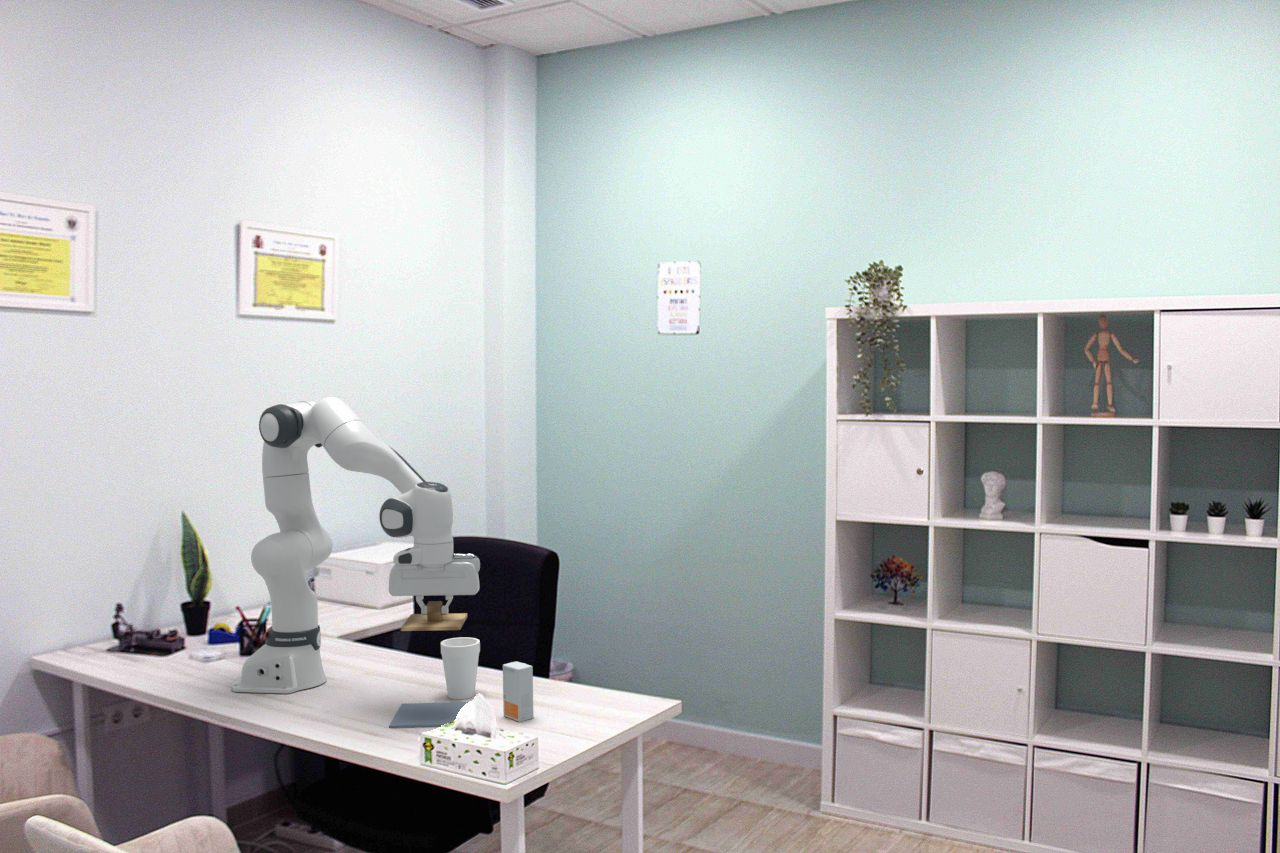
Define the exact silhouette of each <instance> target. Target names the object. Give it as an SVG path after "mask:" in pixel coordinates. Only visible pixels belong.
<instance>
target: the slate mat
mask: <svg viewBox="0 0 1280 853" xmlns="http://www.w3.org/2000/svg"><path fill="white" fill-rule="evenodd" d="M468 702H469V701H454V702H453V701H450V702H446V701H445V702H443V701H442V702H412V703H411V702H408V703H407V702H404V703H401V704H400V706H399V707H398V710H397V711H396V713H395V715H394V716H393V717H392V720H391V722H390V723H389V725H388V728H389V729H395V728H396V729H398V728H399V729H400V728H401V729H402V728H405V729H407V728H434V727H435V728H438V727H439V726H441V725H444V724H447V723H450V722H453V721H454V720H455V719H456V716H457V714H458V712H459V711H460V709H461V708H462V707H463V706H464V705H465V704H466V703H468Z"/></svg>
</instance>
